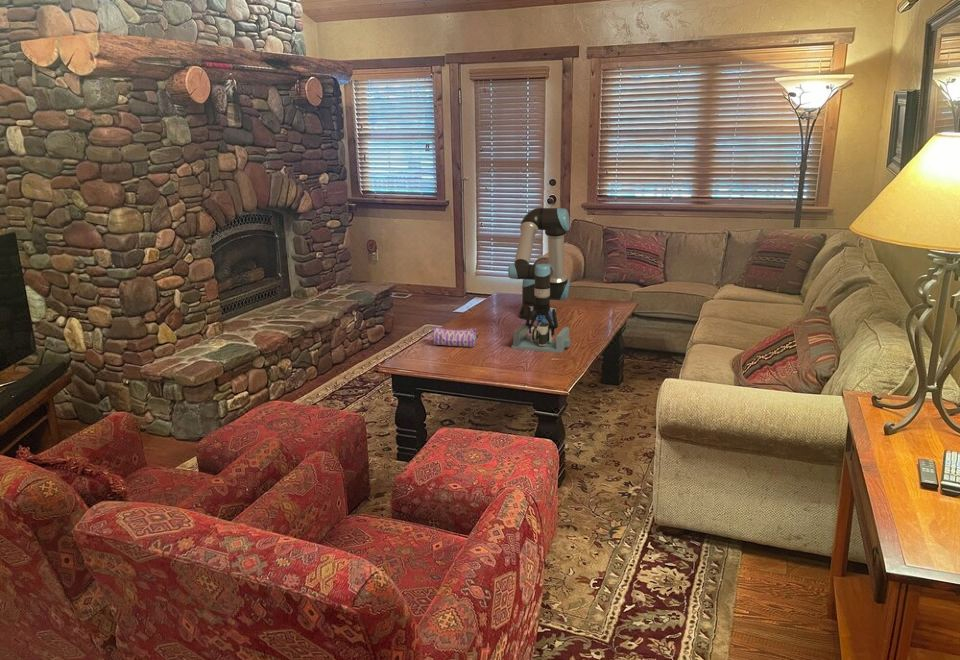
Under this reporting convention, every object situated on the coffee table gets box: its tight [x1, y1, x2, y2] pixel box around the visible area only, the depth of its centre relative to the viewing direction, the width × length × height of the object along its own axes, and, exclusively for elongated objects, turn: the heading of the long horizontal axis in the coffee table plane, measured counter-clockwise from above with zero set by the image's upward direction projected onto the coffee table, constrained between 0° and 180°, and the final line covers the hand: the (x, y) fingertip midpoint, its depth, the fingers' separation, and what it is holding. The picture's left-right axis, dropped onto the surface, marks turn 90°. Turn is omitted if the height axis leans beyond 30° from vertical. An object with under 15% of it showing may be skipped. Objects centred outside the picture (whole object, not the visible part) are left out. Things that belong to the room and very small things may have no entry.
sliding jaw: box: [513, 323, 529, 346], centre depth 354 cm, size 22×3×7 cm, turn 160°
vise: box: [511, 326, 571, 354], centre depth 348 cm, size 16×27×8 cm, turn 70°
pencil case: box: [432, 325, 479, 348], centre depth 351 cm, size 22×9×10 cm, turn 82°
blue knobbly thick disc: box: [535, 310, 554, 327], centre depth 373 cm, size 12×7×12 cm, turn 69°
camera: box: [530, 321, 551, 346], centre depth 348 cm, size 16×9×10 cm, turn 160°
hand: (541, 340), depth 349 cm, fingers closed on camera, 9 cm apart
